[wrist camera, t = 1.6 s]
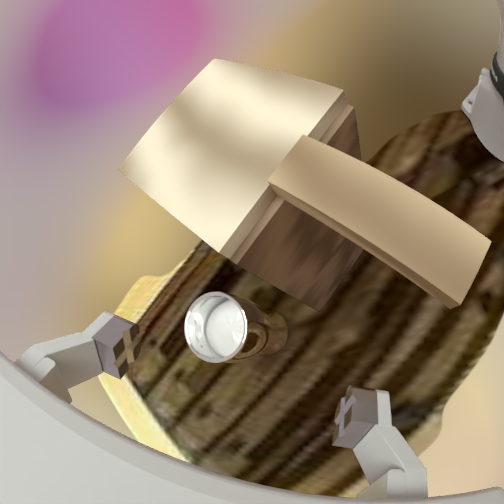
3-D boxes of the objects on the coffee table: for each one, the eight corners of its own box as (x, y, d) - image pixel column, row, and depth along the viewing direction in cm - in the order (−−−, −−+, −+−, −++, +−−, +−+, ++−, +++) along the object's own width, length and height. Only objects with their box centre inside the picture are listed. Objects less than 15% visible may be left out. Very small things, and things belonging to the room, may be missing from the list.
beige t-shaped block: (220, 68, 20) (211, 55, 19) (504, 187, 11) (514, 172, 9) (128, 176, 20) (114, 167, 19) (396, 386, 11) (400, 393, 9)
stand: (298, 201, 44) (216, 68, 20) (367, 243, 38) (354, 107, 15) (253, 261, 43) (125, 174, 20) (319, 311, 38) (236, 264, 15)
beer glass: (297, 351, 38) (256, 357, 24) (248, 362, 40) (188, 369, 26) (285, 301, 40) (241, 280, 27) (239, 314, 42) (177, 299, 29)
